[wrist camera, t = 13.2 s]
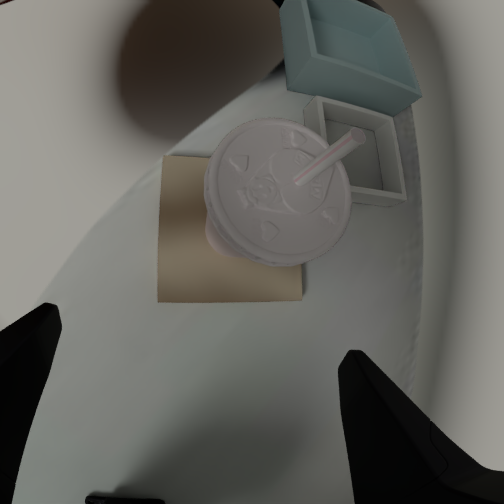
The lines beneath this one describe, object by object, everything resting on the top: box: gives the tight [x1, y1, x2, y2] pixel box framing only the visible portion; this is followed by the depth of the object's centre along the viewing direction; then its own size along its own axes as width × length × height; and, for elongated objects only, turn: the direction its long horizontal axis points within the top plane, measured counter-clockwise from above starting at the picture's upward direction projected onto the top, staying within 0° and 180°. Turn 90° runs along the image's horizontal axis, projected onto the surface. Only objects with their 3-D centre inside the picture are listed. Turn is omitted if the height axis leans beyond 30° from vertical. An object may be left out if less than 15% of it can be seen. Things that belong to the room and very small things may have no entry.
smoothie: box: [204, 118, 366, 267], centre depth 15 cm, size 6×6×14 cm
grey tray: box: [304, 95, 407, 207], centre depth 25 cm, size 8×8×2 cm
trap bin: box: [279, 0, 422, 117], centre depth 26 cm, size 12×12×5 cm
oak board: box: [158, 155, 302, 303], centre depth 22 cm, size 10×10×1 cm
